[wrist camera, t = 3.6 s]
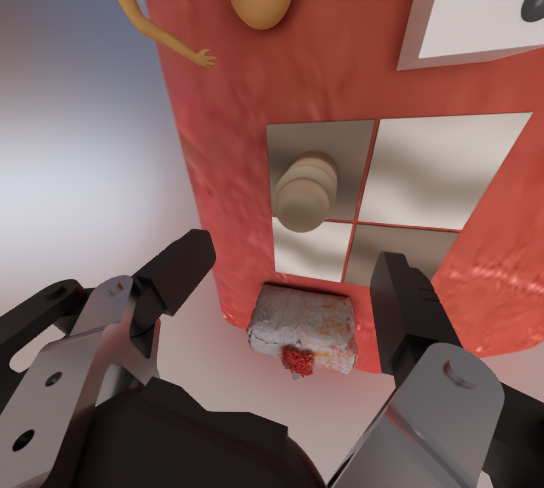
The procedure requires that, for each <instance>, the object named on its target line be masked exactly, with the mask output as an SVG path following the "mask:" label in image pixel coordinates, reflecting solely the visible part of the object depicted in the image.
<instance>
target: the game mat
mask: <svg viewBox="0 0 544 488" xmlns="http://www.w3.org/2000/svg"><path fill="white" fill-rule="evenodd" d="M531 115H532V112H528V113H506V114H484V115H462V116H440V117H418V118H396V119H380V123H379V128H378V132H377V136H376V141H375V145H374V150H373V154H372V158H371V163H370V167H369V172H368V176H367V180H366V185H365V189H364V194H363V198H362V202H361V207H360V211H359V215H358V221H363V222H375V223H387V224H399V225H412V226H424V227H436V228H448V229H460V230H462V228H463V227H464V225H465V223H466V222H467V220H468V218H469V217H470V215H471V213H472V212H473V210H474V208H475V207H476V205H477V204H478V202H479V200H480V199H481V197H482V195H483V194H484V192H485V190H486V189H487V187H488V185H489V184H490V182H491V180H492V179H493V177H494V175H495V174H496V172H497V171H498V169H499V167H500V166H501V164H502V162H503V161H504V159H505V157H506V156H507V154H508V152H509V151H510V149H511V147H512V146H513V144H514V143H515V141H516V139H517V138H518V136H519V134H520V133H521V131H522V129H523V128H524V126H525V124H526V123H527V121H528V119H529V118H530V116H531ZM374 122H375V120H353V121H331V122H309V123H287V124H266V132H267V147H268V163H269V178H270V193H271V208H272V214H276V213H275V189H276V186H277V184H278V182H279V181H280V179H281V178H282V177H283V175H284V174H285V173H286V172H287V170H288V169H289V168H290V167H291V165H292V164H293V163H294V161H295V160H296V159H297V158H298V157H299V156H300V155H302V154H304V153H306V152H309V151H321V152H324V153H326V154H327V155H329V156H330V157H331V158H332V159H333V160H334V162H335V164H336V166H337V170H338V178H337V192H336V203H335V207H334V209H333V211H332V213H331V214H330V216H329V217H328V218H327V219H339V220H351V221H353V220H354V215H355V210H356V206H357V201H358V196H359V192H360V187H361V182H362V178H363V173H364V168H365V164H366V159H367V154H368V150H369V145H370V140H371V136H372V131H373V126H374ZM272 223H273V238H274V253H275V269H276V272H280V273H286V274H292V275H298V276H305V277H311V278H317V279H323V280H329V281H335V282H340V281H341V276H342V271H343V267H344V262H345V257H346V253H347V248H348V243H349V239H350V234H351V229H352V225H353V223H345V222H333V221H323V223H322V224H321V225H320V226H319V227H317V228H316V229H314V230H312V231H309V232H305V233H297V232H293V231H290V230H288V229H287V228H285V227H284V226H283V225H282V224H281V223H280V222H279V220H278V218H277V217H275V216H272ZM458 235H459V232H449V231H438V230H426V229H415V228H403V227H391V226H380V225H368V224H356V229H355V233H354V237H353V242H352V246H351V251H350V255H349V259H348V264H347V268H346V273H345V277H344V281H343V283H347V284H353V285H359V286H365V287H370V281H371V277H372V274H373V271H374V268H375V265H376V262H377V259H378V256H379V254H380V252H381V251H387V252H396V253H403V254H404V255H405V257H406V260H407V262H408V265H409V267H412V268H418V269H419V270H420V271H421V272H422V273H423V274H424V275H425V276H426V277H428V278H429V280H430V281H431V279H432V278H433V276H434V274H435V273H436V271H437V269H438V268H439V266H440V264H441V263H442V261H443V260H444V258H445V256H446V255H447V253H448V251H449V250H450V248H451V246H452V245H453V243H454V241H455V240H456V238H457V236H458Z"/></svg>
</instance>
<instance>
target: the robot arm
mask: <svg viewBox="0 0 544 488" xmlns="http://www.w3.org/2000/svg"><path fill="white" fill-rule="evenodd" d="M215 261H216V253H215V250H214V246H213V243H212V239H211V236H210V233H209V232H208V231H207V230H199V229H191V230H190V231H189V232H188V233H187V234H185V235H184V236H183V237H182V238H180V239H178V240H176V241H174V242H173V243H171V244H170V245H169V246H168V247H167V248H165V250H163V251H162V252H160V253H159V255H157V256H156V257H154V258H153V259H152V260H151V261H149V262H148V263H147V264H146V265H145V266H143V267H142V268H141V269H140V270H138V271H137V272H136V273H135V274H134V275H132V276H127V275H122V276H117V277H113V278H111V279H109V280H107V281H105V282H103V283H102V284H100V285H99V286H97V287H96V288H86V289H84V288H83V287H82V286H81V285H80V284H79V282H78V281H76V280H74V279H68V280H63V281H60V282H57V283H54V284H52V285H50V286H48V287H46V288H44V289H43V290H41V291H39V292H38V293H36V294H35V295H33V296H32V297H31V298H29V299H27V300H26V301H24V302H23V303H21V304H19V305H18V306H16V307H15V308H14V309H12V310H10V311H9V312H7V313H6V314H4V315H3V316H1V317H0V488H476V486H477V482H478V478H479V476H480V473H481V470H482V471H484V472H485V473H487V474H488V475H489V476H490V479H491V481H492V485H493V487H494V488H544V403H543V402H541V401H539V400H537V399H534V398H532V397H530V396H528V395H526V394H524V393H522V392H520V391H518V390H515V389H513V388H511V387H509V386H507V385H506V384H504V383H501V382H500V381H499V380H498V378H497V377H496V375H495V374H494V373H493V371H492V370H491V369H490V368H489V367H488V366H487V365H486V364H485V363H484V362H482V361H481V360H480V359H479V358H478V357H476V356H475V355H473V354H472V353H470V352H469V351H467V350H465V349H464V348H463V346H462V345H461V343H460V341H459V339H458V336H457V334H456V332H455V330H454V328H453V326H452V324H451V322H450V320H449V318H448V316H447V314H446V312H445V310H444V308H443V306H442V304H441V303H440V300H439V298H438V296H437V294H436V293H435V292H434V291H435V290H434V288H433V286H432V284H431V282H430V280H429V278H428V277H426V276H425V275H424V274H423V273H422V272H421V271H420V270H419V269H418V268H412V267H409V265H408V262H407V260H406V257H405V255H404V254H403V253H396V252H387V251H381V252H380V254H379V256H378V259H377V262H376V265H375V268H374V271H373V274H372V277H371V281H370V296H371V303H372V309H373V316H374V323H375V330H376V337H377V343H378V350H379V357H380V364H381V370H382V373H385V374H389V375H393V376H394V380H395V385H396V388H395V389H394V391H393V392H392V393H391V395H390V396H389V398H388V399H387V401H386V402H385V403H384V405H383V406H382V408H381V409H380V410H379V412H378V413H377V415H376V416H375V418H374V419H373V420H372V422H371V423H370V424H369V426H368V427H367V429H366V430H365V432H364V433H363V434H362V436H361V437H360V438H359V440H358V441H357V442H356V444H355V445H354V447H353V448H352V449H351V450H350V452H349V453H348V455H347V456H346V457H345V459H344V460H343V462H342V463H341V464H340V466H339V467H338V469H337V470H336V471H335V473H334V474H333V476H332V477H331V479H330V480H329V481H328V483H327V484H326V485H325V483H324V481H323V478H322V477H321V475H320V473H319V472H318V470H317V468H316V467H315V465H314V464H313V462H312V461H311V459H310V458H309V457H308V455H307V454H306V453H305V452H304V451H303V450H302V448H301V447H300V446H299V445H298V444H297V443H296V442H295V441H293V440H292V439H291V438H290V437H289V436H288V427H287V426H284V425H282V424H279V423H277V422H274V421H271V420H268V419H266V418H263V417H261V416H258V415H255V414H253V413H250V412H211V411H207V410H205V409H204V408H203V407H202V406H201V405H200V404H199V403H198V402H197V401H196V400H194V399H193V398H192V397H191V396H190V395H189V394H188V393H187V392H186V391H185V390H184V389H183V388H182V387H180V386H178V385H175V384H172V383H170V382H167V381H165V380H162V379H160V377H159V372H158V369H157V363H156V361H157V351H158V343H159V333H160V325H161V321H160V319H159V317H160V316H161V315H162V314H166V315H170V316H174V314H175V313H176V312H177V311H178V309H179V308H180V307H181V306H182V304H183V303H184V302H185V301H186V299H187V298H188V297H189V295H190V294H191V293H192V292H193V291H194V289H195V288H196V287H197V285H198V284H199V283H200V282H201V280H202V279H203V278H204V277H205V275H206V274H207V273H208V272H209V270H210V269H211V268H212V267H213V265H214V263H215ZM52 324H53V325H55V326H56V327H57V328H58V329H60V330H61V331H62V332H63V333H65V334H66V335H65V336H64V337H63V338H62V339H60V340H56V341H53V342H50V343H48V344H47V345H45V346H44V347H43V348H42V349H41V350H40V352H39V353H38V355H37V357H36V358H35V360H34V361H33V363H32V364H31V366H30V367H29V368H28V369H26V370H25V371H23V372H20V373H18V372H16V371H14V370H12V369H11V368H10V366H9V363H10V360H11V358H12V357H13V355H14V354H15V353H17V352H18V351H19V350H20V349H22V348H23V347H24V346H25V345H26V344H28V343H29V342H30V341H32V340H33V339H34V338H35V337H37V336H38V335H39V334H40V333H42V332H43V331H44V330H45V329H47V327H49V326H50V325H52ZM95 405H97V406H96V407H95Z"/></svg>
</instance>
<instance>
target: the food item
mask: <svg viewBox="0 0 544 488" xmlns="http://www.w3.org/2000/svg"><path fill="white" fill-rule="evenodd" d="M262 287H263V288H262V291H261V293H260V294H259V296H258V299H257V301H256V307H255V308H254V310H253V313H252V315H251V317H252V318H251V322H250V324H249V326H248V328H247V330H248V332H247V330H246V332H247V333H248V337H249V344H250V347H251V350H252V351H256V352H259V353H264V354H267V355H270V356H273V357H277V358H280V359H282V364H283V366H285V368H286V369H290V370H291V372H292V374H293V379H294V378H295V379H294V380H296V379H298V378H299V376H300V375H301V376H302V377H304V375H307V376H308V375H311V374H313V372H312V369H314V368H317V369H325V370H329V371H333V372H338V373H342V374H348V373H349V371H350V369H351V368H352V367H353V366H355V365H356V363H357V358H358V356H359V354H358V349H357V346H356V342H355V320H354V312H353V307H352V303H351V300H350V298H349V297H342V296H335V295H326V294H319V293H314V292H307V291H301V290H296V289H291V288H284V287H278V286H272V285H268V284H263V285H262Z"/></svg>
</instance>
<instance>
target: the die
mask: <svg viewBox="0 0 544 488" xmlns="http://www.w3.org/2000/svg"><path fill="white" fill-rule="evenodd" d="M542 47H544V0H413V3H412V7H411V11H410V15H409V19H408V23H407V28H406V32H405V36H404V40H403V44H402V49H401V53H400V57H399V61H398V65H397V69H396V71H399V70H409V69H419V68H429V67H439V66H448V65H458V64H468V63H478V62H488V61H493V60H497V59H500V58H504V57H508V56H512V55H516V54H519V53H523V52H527V51H531V50H534V49H538V48H542Z"/></svg>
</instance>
